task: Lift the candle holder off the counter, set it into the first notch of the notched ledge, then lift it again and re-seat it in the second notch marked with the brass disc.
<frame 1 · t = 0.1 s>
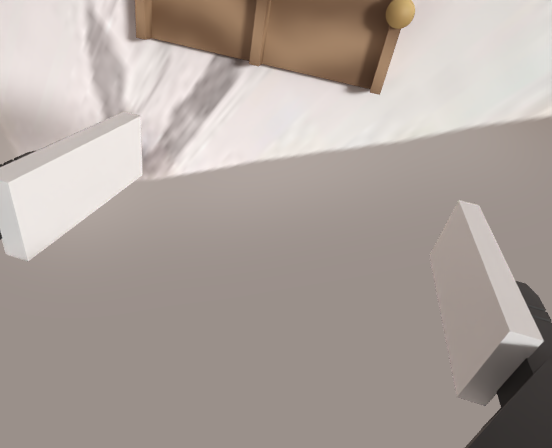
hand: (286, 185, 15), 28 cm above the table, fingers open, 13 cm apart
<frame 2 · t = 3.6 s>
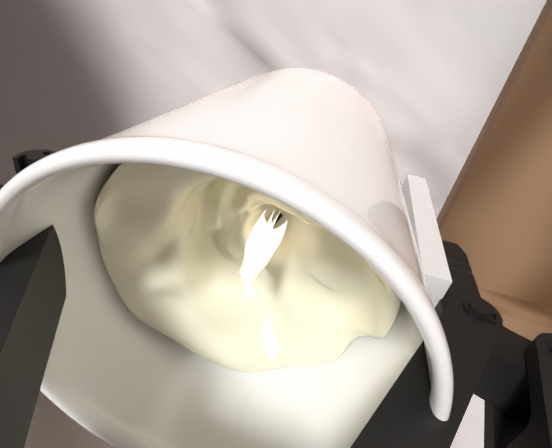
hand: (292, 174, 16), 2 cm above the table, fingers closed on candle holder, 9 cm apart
candle holder: (298, 159, 18), on the table, touching gripper
when the fingers open (4 cm above the table, at t = 8.3 s): candle holder drops 1 cm, resting on ledge.
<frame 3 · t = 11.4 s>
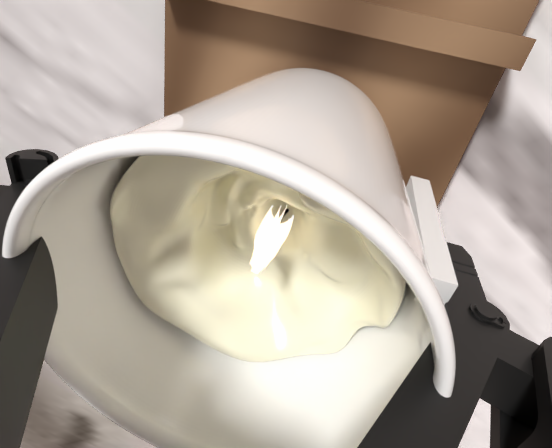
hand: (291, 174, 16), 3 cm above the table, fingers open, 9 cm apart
ledge: (334, 9, 15), on the table
candle holder: (302, 156, 18), point 1 cm above the table, touching gripper, ledge
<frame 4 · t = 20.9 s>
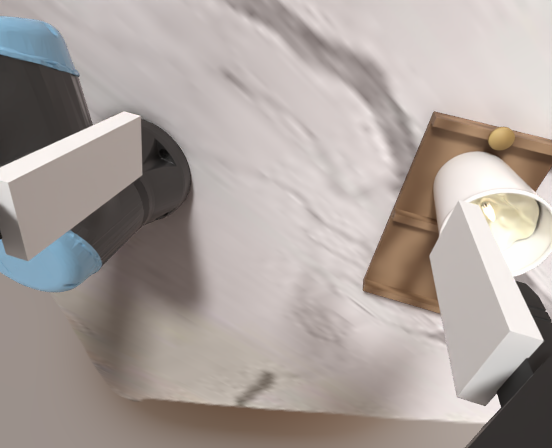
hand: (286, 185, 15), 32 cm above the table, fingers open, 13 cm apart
ledge: (446, 222, 48), on the table
candle holder: (470, 183, 44), point 1 cm above the table, touching ledge
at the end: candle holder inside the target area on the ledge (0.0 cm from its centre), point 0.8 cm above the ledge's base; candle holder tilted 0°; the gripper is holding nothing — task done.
